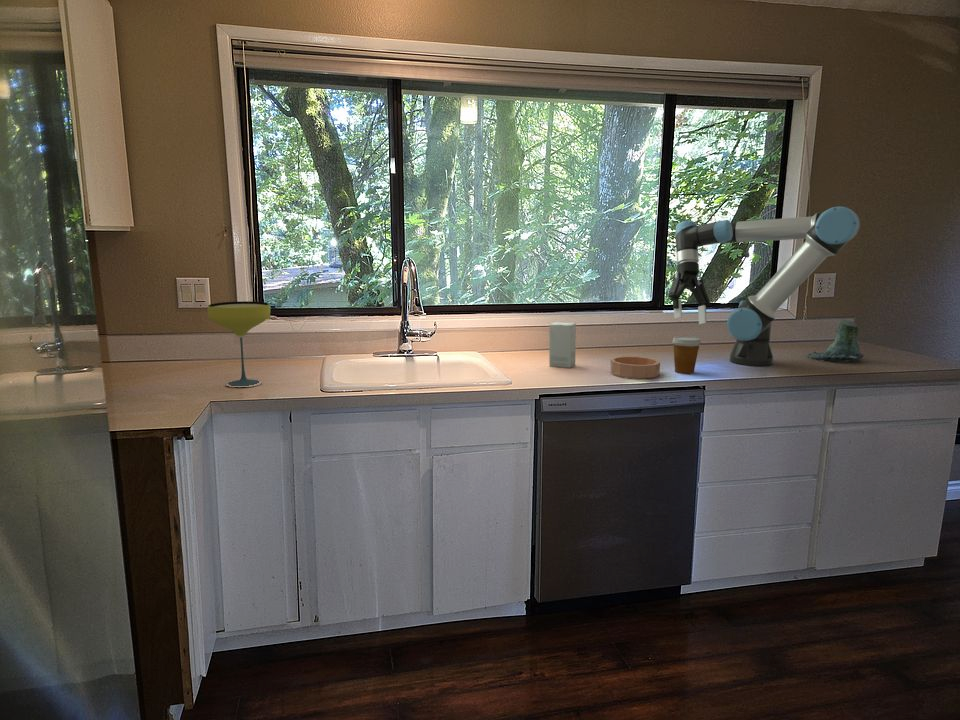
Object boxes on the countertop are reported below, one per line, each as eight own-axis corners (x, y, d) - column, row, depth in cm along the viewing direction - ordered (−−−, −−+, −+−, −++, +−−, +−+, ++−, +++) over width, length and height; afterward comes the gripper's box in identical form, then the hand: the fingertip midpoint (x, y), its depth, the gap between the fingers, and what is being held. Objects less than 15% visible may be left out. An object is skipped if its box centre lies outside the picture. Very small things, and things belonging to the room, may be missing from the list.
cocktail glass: (203, 391, 200) (197, 307, 195) (225, 377, 218) (220, 301, 213) (263, 391, 200) (259, 308, 195) (281, 378, 218) (277, 301, 213)
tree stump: (831, 354, 272) (847, 313, 265) (870, 376, 255) (888, 332, 248) (795, 354, 266) (810, 312, 259) (833, 376, 249) (850, 332, 242)
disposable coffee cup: (700, 375, 228) (702, 341, 225) (671, 374, 230) (673, 339, 227) (697, 370, 237) (699, 336, 234) (669, 368, 239) (671, 335, 236)
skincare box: (575, 365, 243) (577, 322, 240) (570, 368, 237) (571, 325, 234) (553, 363, 246) (555, 321, 243) (547, 366, 240) (549, 323, 237)
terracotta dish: (653, 369, 238) (653, 356, 237) (663, 379, 222) (664, 365, 221) (607, 368, 238) (607, 355, 237) (614, 378, 222) (615, 365, 221)
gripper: (700, 272, 253) (703, 327, 249) (656, 260, 239) (659, 317, 235) (717, 267, 246) (721, 323, 243) (673, 254, 232) (676, 313, 229)
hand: (690, 320), depth 239 cm, fingers open, 13 cm apart
